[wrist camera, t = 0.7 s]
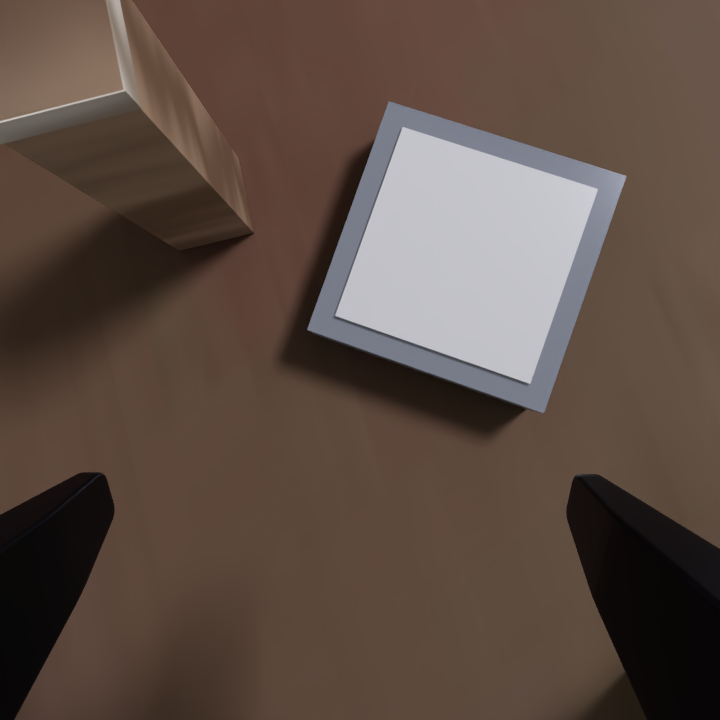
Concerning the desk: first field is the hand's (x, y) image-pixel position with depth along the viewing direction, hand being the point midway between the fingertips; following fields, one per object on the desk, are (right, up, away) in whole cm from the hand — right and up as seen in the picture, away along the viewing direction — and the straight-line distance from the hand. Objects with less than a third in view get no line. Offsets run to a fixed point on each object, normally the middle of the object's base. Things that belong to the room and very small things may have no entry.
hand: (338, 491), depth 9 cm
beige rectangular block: (-7, +10, +15) cm, 20 cm away
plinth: (+5, +7, +14) cm, 17 cm away
